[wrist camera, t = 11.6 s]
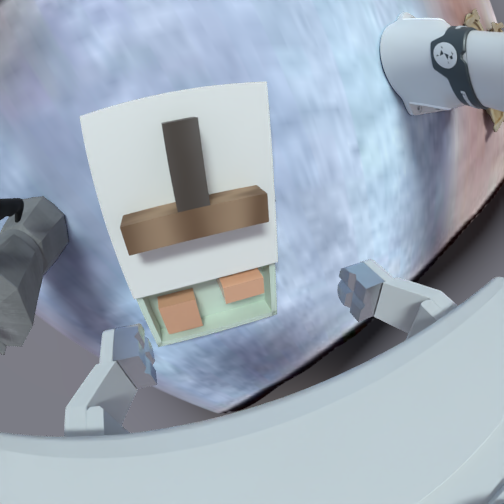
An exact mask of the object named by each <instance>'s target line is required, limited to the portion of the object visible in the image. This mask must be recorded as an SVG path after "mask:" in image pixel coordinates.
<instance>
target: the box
mask: <svg viewBox="0 0 504 504" xmlns="http://www.w3.org/2000/svg"><path fill="white" fill-rule="evenodd" d="M257 268H258V270H259V271H260V273H261V274H262V276H263V279H264V293H263V294H260V295H256V296H253V297H249V298H246V299H242V300H239V301H235V302H231V303H228V304H226V303H225V300H224V298H223V295H222V293H221V290H220V288H219V285H218V283H217V278H216V279H212V280H208V281H204V282H200V283H196V284H192V285H189V286H185V287H181V288H177V289H173V290H169V291H165V292H161V293H157V294H153V295H149V296H145V297H141V298H137V302H138V304H139V306H140V309H141V311H142V313H143V315H144V318H145V320H146V322H147V324H148V326H149V328H150V330H151V333H152V335H153V337H154V339H155V341H156V343H157V345H158V347H160V346H165V345H169V344H173V343H177V342H181V341H185V340H189V339H193V338H197V337H201V336H204V335H208V334H212V333H215V332H219V331H223V330H226V329H230V328H233V327H237V326H240V325H243V324H247V323H250V322H253V321H257V320H260V319H263V318H266V317H270V316H273V315H276V314H277V300H276V275H275V263H272V264H268V265H265V266H261V267H257ZM253 269H255V268H253ZM250 270H251V269H250ZM246 271H248V270H246ZM242 272H244V271H242ZM238 273H240V272H238ZM235 274H236V273H235ZM231 275H232V274H231ZM227 276H229V275H227ZM223 277H225V276H223ZM219 278H221V277H219ZM190 288H193V292H194V295H195V299H196V303H197V306H198V310H199V313H200V317H201V320H202V324H203V326H200V327H197V328H193V329H189V330H185V331H181V332H177V333H173V334H169V333H168V331H167V328H166V326H165V324H164V321H163V319H162V316H161V314H160V311H159V309H158V298H157V297H158V296H162V295H166V294H170V293H174V292H178V291H182V290H186V289H190Z"/></svg>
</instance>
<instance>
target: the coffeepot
mask: <svg viewBox="0 0 504 504" xmlns="http://www.w3.org/2000/svg"><path fill="white" fill-rule="evenodd" d="M6 216H9V218H8V220H7V221H6V223H5V224H4V226H3V228H2V230H1V232H0V353H1V355H5V351H6V346H19V347H21V346H22V345H23V343H24V341H25V339H26V337H27V336H28V334H29V332H30V330H31V328H32V326H33V321H34V315H35V311H36V305H37V300H38V296H39V291H40V287H41V283H42V277H43V275H44V274H45V273H46V272H47V271H48V269H49V268H50V267H51V266H52V265H53V264H54V263H55V262H56V260H57V259H58V257H59V256H60V254H61V252H62V251H63V249H64V248H65V246H66V245H67V244H68V242H69V241H68V234H67V226H66V222H65V218H64V214H63V213H62V212H61V211H60V210H59V209H58V208H57V207H56V206H55V205H54V204H53V203H52V202H50V201H49V200H47V199H46V198H45V197H44V196H42V197H31V198H28V199H20V198H13V199H0V220H1V219H3V218H4V217H6Z"/></svg>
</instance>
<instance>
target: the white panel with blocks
mask: <svg viewBox="0 0 504 504" xmlns="http://www.w3.org/2000/svg"><path fill="white" fill-rule="evenodd" d="M189 117H198V122H199V130H200V138H201V145H202V152H203V159H204V166H205V173H206V180H207V187H208V193H209V194H213V193H218V192H223V191H228V190H233V189H238V188H243V187H248V186H254V185H257V186H259V187H260V188H261V189H262V190H264V191H265V192H266V193H267V195H268V211H269V222H266V223H262V224H257V225H253V226H249V227H244V228H240V229H236V230H231V231H227V232H223V233H219V234H214V235H210V236H206V237H202V238H198V239H194V240H190V241H186V242H181V243H177V244H173V245H169V246H165V247H162V248H158V249H154V250H150V251H146V252H142V253H138V254H134V255H131V256H129V254H128V251H127V248H126V245H125V242H124V239H123V236H122V233H121V230H120V225H121V221H122V217H123V215H126V214H130V213H134V212H137V211H141V210H145V209H149V208H153V207H157V206H161V205H165V204H169V203H173V202H175V197H174V192H173V187H172V182H171V177H170V172H169V166H168V161H167V155H166V149H165V143H164V137H163V131H162V124H161V123H163V122H168V121H173V120H178V119H183V118H189ZM80 122H81V127H82V133H83V138H84V143H85V148H86V153H87V157H88V162H89V166H90V170H91V174H92V178H93V182H94V186H95V189H96V193H97V197H98V200H99V204H100V207H101V210H102V214H103V217H104V220H105V223H106V226H107V229H108V232H109V235H110V238H111V241H112V244H113V247H114V250H115V253H116V255H117V258H118V261H119V263H120V266H121V269H122V271H123V274H124V276H125V279H126V281H127V284H128V286H129V288H130V291H131V293H132V296H133V298H134V299H137V298H141V297H145V296H149V295H153V294H157V293H161V292H165V291H169V290H173V289H177V288H181V287H185V286H189V285H192V284H196V283H200V282H204V281H208V280H212V279H216V278H219V277H223V276H227V275H231V274H235V273H238V272H242V271H246V270H250V269H253V268H257V267H261V266H265V265H268V264H272V263H276V262H278V252H277V230H276V209H275V191H274V174H273V158H272V143H271V129H270V116H269V103H268V91H267V82H249V83H235V84H224V85H215V86H206V87H199V88H192V89H186V90H180V91H174V92H169V93H163V94H158V95H154V96H149V97H145V98H140V99H136V100H132V101H128V102H125V103H121V104H117V105H114V106H110V107H107V108H104V109H100V110H97V111H94V112H91V113H88V114H85V115H82V116H80Z"/></svg>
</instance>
